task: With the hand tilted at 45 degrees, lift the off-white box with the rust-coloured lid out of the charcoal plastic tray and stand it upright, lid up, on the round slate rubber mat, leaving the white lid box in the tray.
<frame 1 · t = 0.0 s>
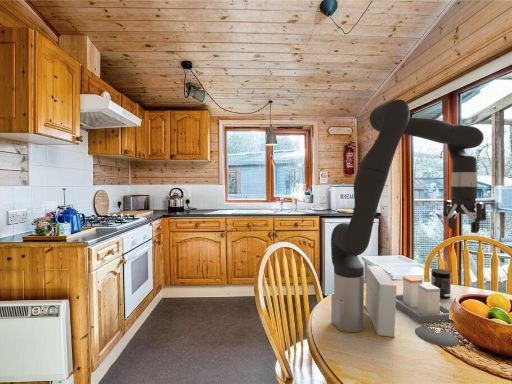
hand: (462, 230, 100), 29 cm above the table, tool pointing down, fingers open, 8 cm apart
white lid box: (428, 314, 98), resting on parts tray
supplement container: (440, 296, 114), on the table
parts tray: (420, 310, 102), on the table
skincare box: (379, 320, 95), on the table
rust lid box: (412, 304, 106), resting on parts tray
slate mat: (435, 337, 84), on the table
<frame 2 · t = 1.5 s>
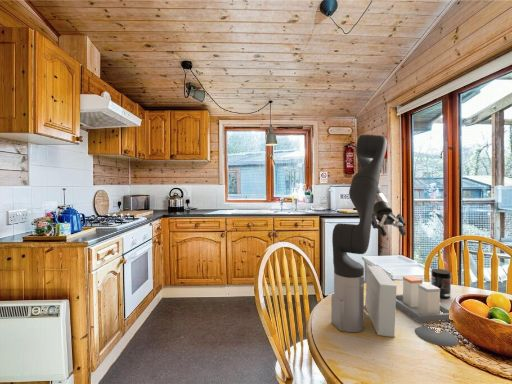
hand: (394, 235, 117), 25 cm above the table, tool tilted 45°, fingers open, 8 cm apart
nothing on the table moved.
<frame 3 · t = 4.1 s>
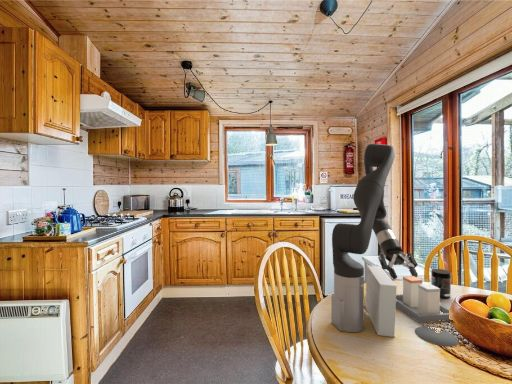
hand: (405, 277, 110), 9 cm above the table, tool tilted 45°, fingers open, 8 cm apart
nothing on the table moved.
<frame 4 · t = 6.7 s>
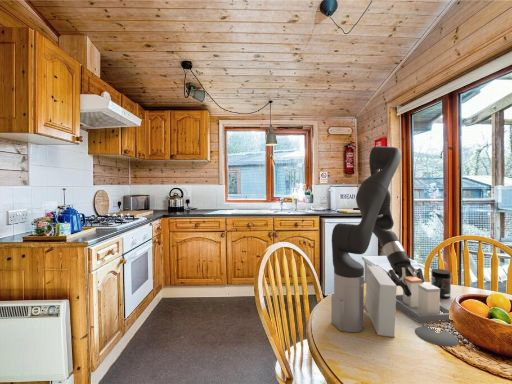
hand: (415, 295, 104), 5 cm above the table, tool tilted 45°, fingers closed on rust lid box, 4 cm apart
rust lid box: (412, 304, 106), resting on parts tray, touching gripper
everything else where it was.
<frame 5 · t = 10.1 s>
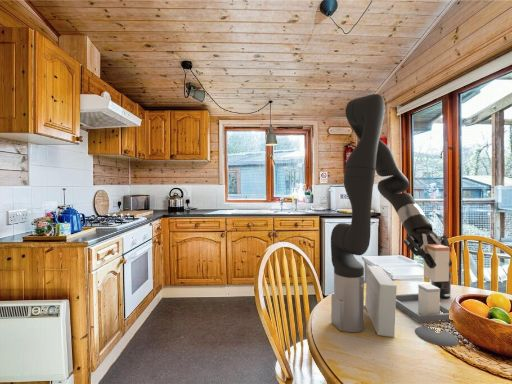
hand: (441, 266, 82), 22 cm above the table, tool tilted 45°, fingers closed on rust lid box, 4 cm apart
rust lid box: (436, 278, 84), point 18 cm above the table, touching gripper
everything else where it was.
when the fingers open (6 cm above the table, at t = 14.0 s): rust lid box drops 2 cm, resting on slate mat.
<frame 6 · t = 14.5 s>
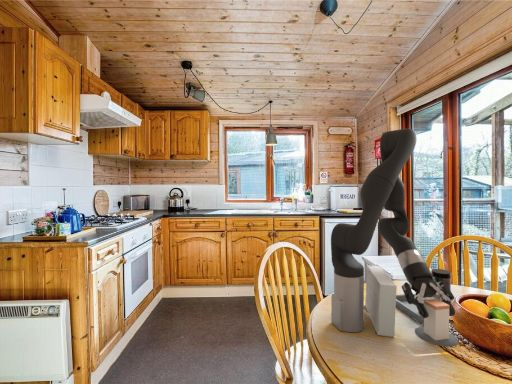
hand: (439, 316, 83), 7 cm above the table, tool tilted 45°, fingers open, 8 cm apart
rust lid box: (436, 335, 84), resting on slate mat
everything else where it was.
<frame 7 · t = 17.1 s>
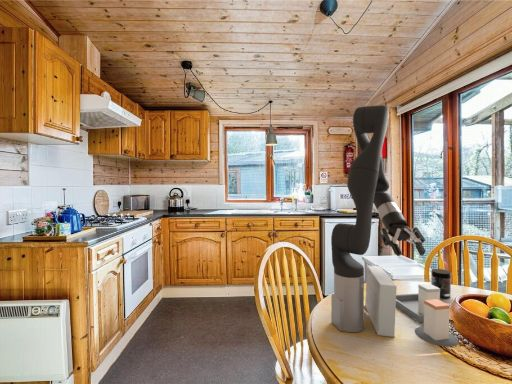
hand: (411, 254, 95), 22 cm above the table, tool tilted 45°, fingers open, 8 cm apart
nothing on the table moved.
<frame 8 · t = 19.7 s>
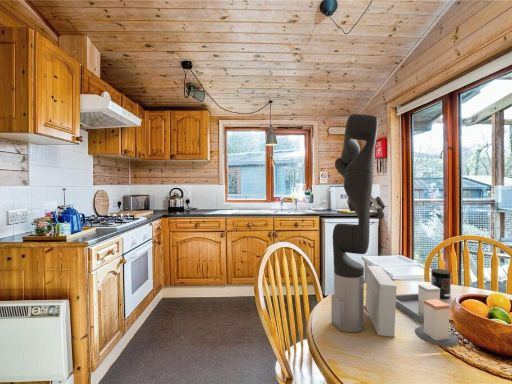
hand: (372, 218, 111), 33 cm above the table, tool tilted 45°, fingers open, 8 cm apart
nothing on the table moved.
at the end: rust lid box inside the target area on the slate mat (0.0 cm from its centre), point 0.5 cm above the slate mat's base; rust lid box tilted 0°; white lid box moved 0.0 cm from its start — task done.
